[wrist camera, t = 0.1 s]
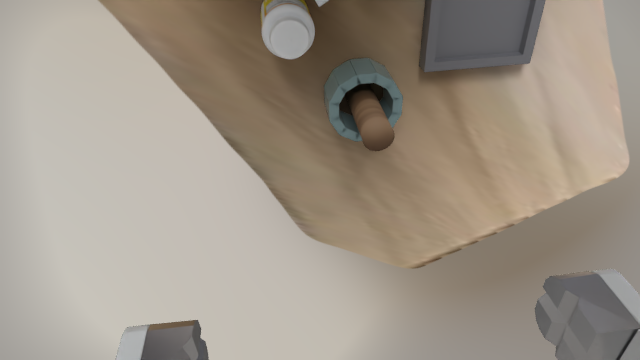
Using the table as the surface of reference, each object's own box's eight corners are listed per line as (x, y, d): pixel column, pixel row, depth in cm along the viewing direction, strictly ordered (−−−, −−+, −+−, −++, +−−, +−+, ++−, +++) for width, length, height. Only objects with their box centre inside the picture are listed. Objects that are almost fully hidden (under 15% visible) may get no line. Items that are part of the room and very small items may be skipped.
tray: (430, -54, 50) (437, -51, 49) (549, -61, 51) (560, -58, 50) (419, 65, 59) (424, 72, 57) (521, 57, 60) (529, 63, 58)
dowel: (345, 80, 59) (363, 124, 49) (372, 78, 59) (395, 121, 49) (345, 105, 61) (362, 152, 51) (371, 102, 61) (393, 149, 51)
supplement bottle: (293, 43, 55) (300, 76, 47) (252, 21, 53) (252, 51, 45) (316, 2, 53) (328, 29, 44) (274, -23, 50) (278, 0, 42)
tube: (323, 61, 57) (328, 77, 53) (394, 55, 57) (404, 70, 53) (325, 125, 62) (330, 143, 58) (390, 119, 63) (399, 137, 59)
